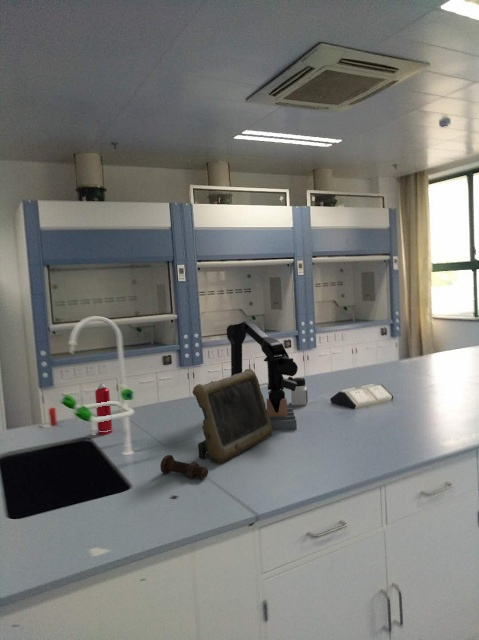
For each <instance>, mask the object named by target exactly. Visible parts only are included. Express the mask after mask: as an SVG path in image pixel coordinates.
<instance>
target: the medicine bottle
mask: <svg viewBox="0 0 479 640" xmlns="http://www.w3.org/2000/svg"><path fill="white" fill-rule="evenodd" d="M293 381H295V382H296V383H297V386H296V389H295V391H292V390H290V397H291V398H290V399H291V405H292V406H308V397H309V396H308V387H307V386H306V378H303V377H294V378H293Z"/></svg>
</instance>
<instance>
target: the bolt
mask: <svg viewBox="0 0 479 640" xmlns="http://www.w3.org/2000/svg"><path fill="white" fill-rule="evenodd" d="M159 465H160V471H161V473H162V474H164V475H167V474H170V473H171V472H173V473H179V474H182V475H186V476H187V478H188V479H191V480H193V479H194V480H195V479H197V478H200V479H205V478H206V477H208V475H209V470H208V467H205V466H200V464H199V463H198V461H197V462H196V461H192V462H190V463H188V462H182V461H178V460H176V459H175V458H174V456H173V455H172V454H168V455H165V456H164V457H163V458H162V459H161V461H160V464H159Z"/></svg>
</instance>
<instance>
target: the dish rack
mask: <svg viewBox="0 0 479 640" xmlns="http://www.w3.org/2000/svg"><path fill="white" fill-rule="evenodd" d="M269 419H270V422H271V426H272V431H290V430H298V429H297V428H298V427H297V425H298V423H297V419H296V416H295V412H294V408H287V416H276V417H269Z"/></svg>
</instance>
